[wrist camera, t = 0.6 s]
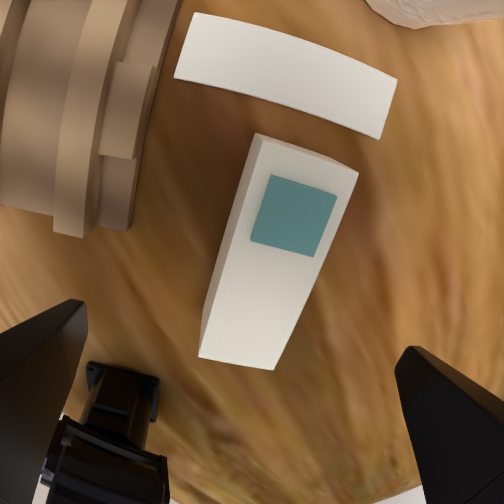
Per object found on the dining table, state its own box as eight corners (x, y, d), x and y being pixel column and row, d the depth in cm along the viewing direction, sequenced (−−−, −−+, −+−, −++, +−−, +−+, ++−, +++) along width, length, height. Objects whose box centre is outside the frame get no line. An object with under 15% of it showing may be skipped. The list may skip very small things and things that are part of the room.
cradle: (130, 226, 19) (115, 245, 16) (-28, 192, 16) (-53, 205, 14) (192, -27, 12) (186, -49, 10) (8, -17, 10) (-15, -25, 7)
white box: (265, 320, 23) (274, 374, 18) (203, 307, 22) (197, 361, 17) (327, 156, 18) (362, 175, 13) (254, 132, 17) (264, 141, 12)
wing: (371, 137, 18) (379, 140, 17) (176, 79, 16) (173, 77, 15) (388, 80, 16) (397, 79, 15) (196, 18, 14) (194, 12, 13)
